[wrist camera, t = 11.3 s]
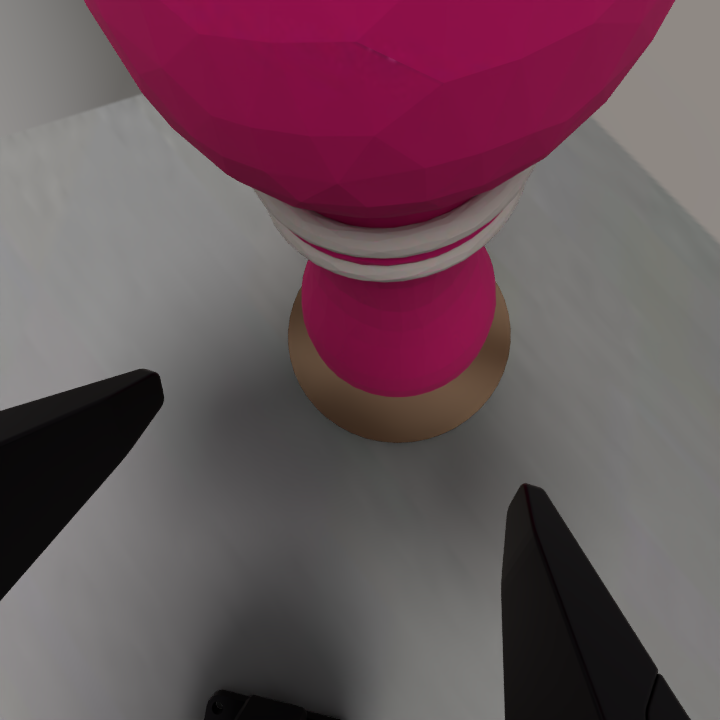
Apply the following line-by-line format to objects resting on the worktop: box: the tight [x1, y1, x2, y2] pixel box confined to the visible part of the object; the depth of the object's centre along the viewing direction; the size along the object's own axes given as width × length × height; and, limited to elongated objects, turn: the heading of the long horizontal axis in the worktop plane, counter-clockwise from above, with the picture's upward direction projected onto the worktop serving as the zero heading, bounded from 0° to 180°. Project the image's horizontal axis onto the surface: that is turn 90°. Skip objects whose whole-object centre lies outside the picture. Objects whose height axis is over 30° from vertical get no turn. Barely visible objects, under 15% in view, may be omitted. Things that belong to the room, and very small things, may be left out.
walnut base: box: [288, 281, 510, 443], centre depth 20 cm, size 11×11×2 cm
